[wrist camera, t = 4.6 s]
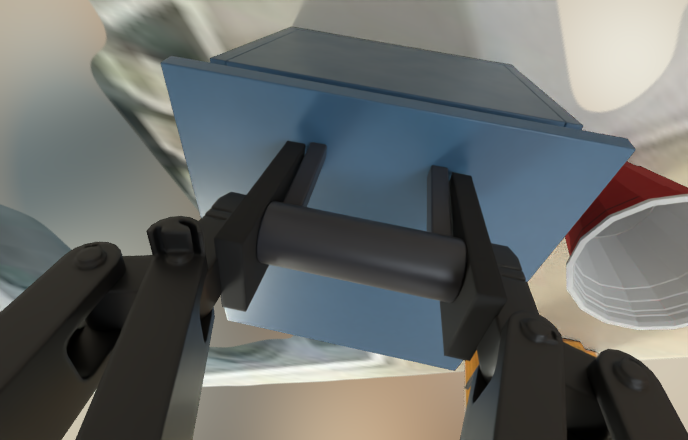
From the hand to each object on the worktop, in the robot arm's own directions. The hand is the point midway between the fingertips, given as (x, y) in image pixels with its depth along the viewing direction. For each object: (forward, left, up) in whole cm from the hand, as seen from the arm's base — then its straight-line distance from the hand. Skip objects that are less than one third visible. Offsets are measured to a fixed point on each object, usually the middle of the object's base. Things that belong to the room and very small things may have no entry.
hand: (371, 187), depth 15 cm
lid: (+6, 0, -2) cm, 6 cm away
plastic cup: (+5, +19, -18) cm, 27 cm away
